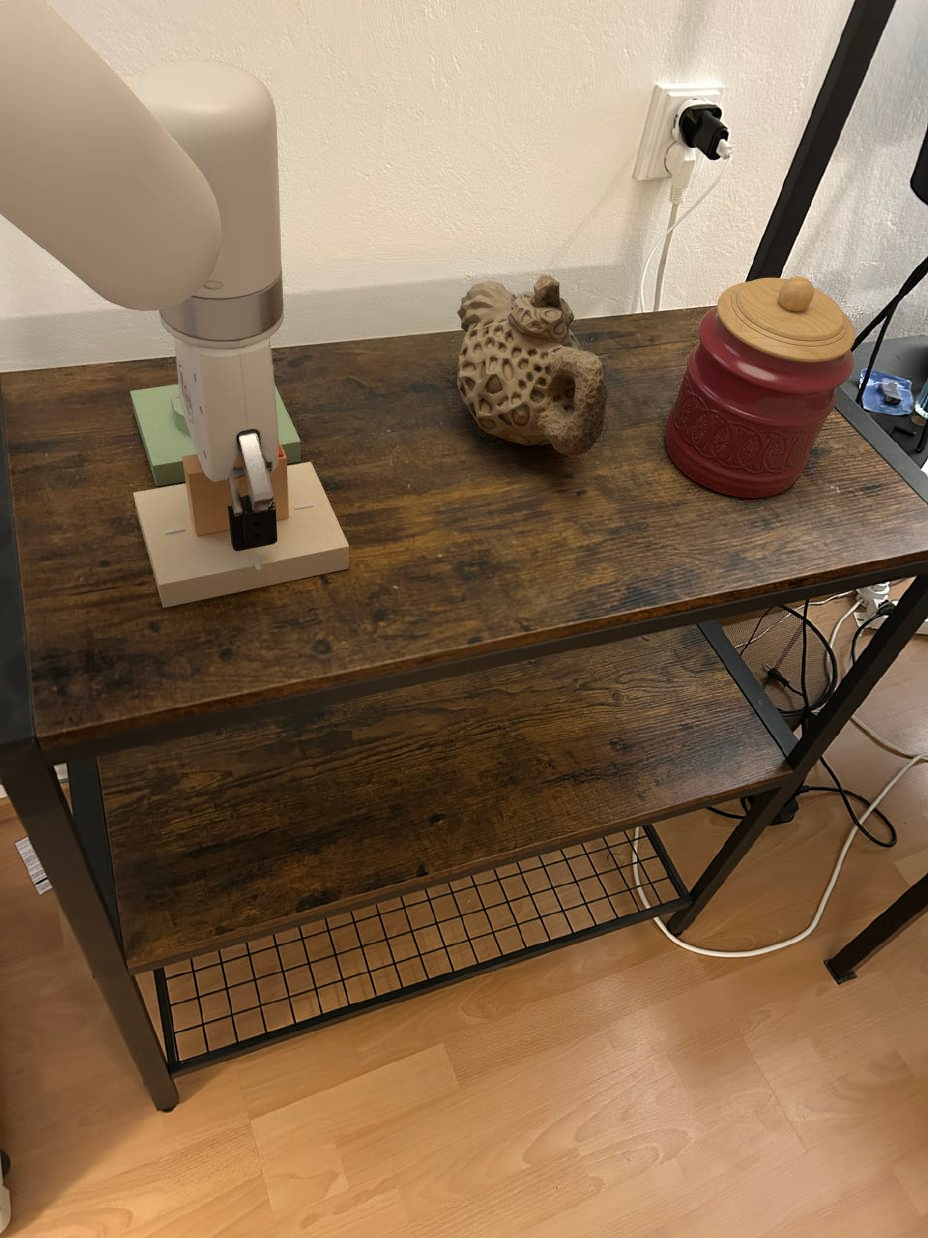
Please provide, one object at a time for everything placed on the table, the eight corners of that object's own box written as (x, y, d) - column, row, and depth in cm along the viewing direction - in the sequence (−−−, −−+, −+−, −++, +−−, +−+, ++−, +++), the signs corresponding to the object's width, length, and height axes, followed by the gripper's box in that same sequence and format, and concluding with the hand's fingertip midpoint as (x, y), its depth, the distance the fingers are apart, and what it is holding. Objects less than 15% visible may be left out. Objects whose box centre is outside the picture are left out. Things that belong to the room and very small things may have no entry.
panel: (164, 614, 70) (160, 589, 68) (136, 510, 76) (131, 485, 74) (351, 574, 74) (352, 549, 72) (309, 479, 81) (309, 455, 79)
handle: (196, 536, 72) (187, 471, 67) (190, 518, 73) (181, 453, 68) (289, 518, 74) (286, 454, 69) (282, 501, 75) (279, 437, 70)
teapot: (411, 376, 92) (424, 224, 80) (517, 354, 96) (543, 206, 85) (521, 524, 80) (554, 370, 69) (635, 491, 84) (684, 342, 73)
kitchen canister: (635, 424, 90) (689, 247, 77) (745, 399, 95) (814, 228, 82) (713, 515, 83) (787, 337, 70) (829, 484, 88) (919, 312, 75)
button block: (156, 486, 78) (149, 447, 75) (133, 411, 84) (126, 372, 81) (301, 461, 82) (300, 423, 79) (270, 391, 88) (268, 353, 85)
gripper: (131, 227, 63) (164, 439, 76) (188, 386, 53) (216, 598, 66) (246, 217, 65) (259, 424, 78) (322, 367, 55) (322, 575, 68)
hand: (239, 503), depth 72 cm, fingers open, 8 cm apart
